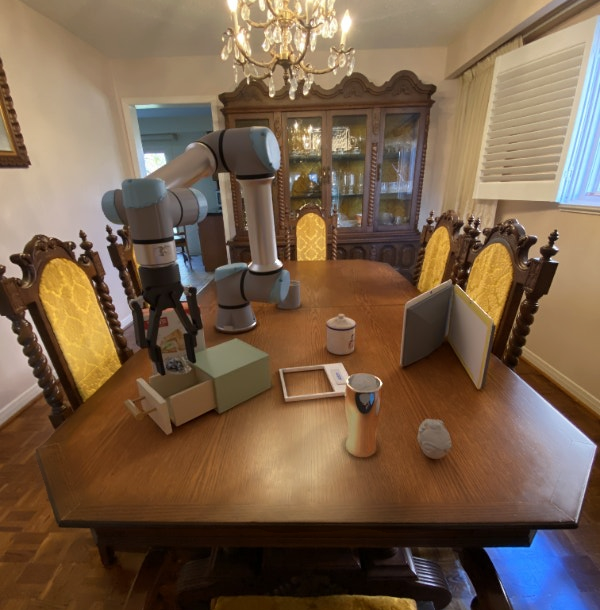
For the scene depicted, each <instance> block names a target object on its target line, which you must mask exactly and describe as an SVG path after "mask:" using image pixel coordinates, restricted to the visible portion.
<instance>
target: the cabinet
mask: <svg viewBox="0 0 600 610" xmlns="http://www.w3.org/2000/svg"><path fill="white" fill-rule="evenodd" d="M195 357H196V363H194V364H193V363H192V362H190V361H189V360H188V359H187V360H188V361H187V363H188V362H189V363H190V364H191V365H193V366H194V367H196V368H197V369H199V370H200V371H201V372H203V373H204V374H206V375H207V376H209V377H210V378H211V379H213V380H214V388H215V395H216V402H217V407H215V408H213V409H212V410H214V412H216V413H218V414H222V413H225V412H227V411H228V410H230V409H232V408H233V407H236V406H238V405H240V404H243V402H246V401H247V400H250V399H251V398H254V397H255V396H257V395H260V394H262V393H264V392H266V391H268V390H269V389H271V388H272V377H271V375H272V373H271V361H270V360H271V359H270V354H269V353H267V352H265V351H263V350H262V349H259V348H258V347H256V346H253V345H251V344H249V343H247V342H245V341H243V340H241V339H239V338H237V337H235V338H234V339H231V340H227V341H224V342H221V343H220V344H215V345H214V346H211V347H208V348H206V349H205V350H203V351H200V352H197V353H195ZM185 358H187V356H186V357H185Z"/></svg>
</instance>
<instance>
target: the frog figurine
mask: <svg viewBox="0 0 600 610" xmlns="http://www.w3.org/2000/svg"><path fill="white" fill-rule="evenodd" d="M416 439H417V441H418V442H417V443H418V445H419V446H420V449H421V451H422V452H423V454H424V455H425V456H426V457H428V458H430V459H433V460H439V459H442V458H444V457H445V456H447V454H449V453H450V449H452V441H451V435H450V433H449V431H448V429H447V427H446V425H445V423H444V421H442V420H441V419H435V418H434V419H433V418H431V419H430V418H426V419H424V420H423V421H422V422H421V423H420V425H419V427H418V434H417V436H416Z"/></svg>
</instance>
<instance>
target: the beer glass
mask: <svg viewBox="0 0 600 610" xmlns="http://www.w3.org/2000/svg"><path fill="white" fill-rule="evenodd" d="M382 408H383V381H382V380H381V378H380V377H378V376H376V375H374V374H371V373H366V372H360V373H357V372H356V373H354V374H351V375H349V377H348V378H347V380H346V389H345V395H344V413H345V418H346V425H347V435H346V439H345V449H346V451H347V452H348V453H349V454H351V455H352V456H354V457H357V458H369V457H371V456H373V455H374V454H375V453H376V451H377V441H376V431H377V427H378V425H379V421H380V418H381V413H382Z"/></svg>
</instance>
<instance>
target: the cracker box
mask: <svg viewBox="0 0 600 610" xmlns="http://www.w3.org/2000/svg"><path fill="white" fill-rule="evenodd" d="M181 303H182V305H183V307H184V310H185V312H186V314H187V316H188V317H189V319H190V321H191V323H192V320H191V316H190V312H189V308H188V304H187V301H185V302H181ZM198 307H199V311H200V316H201V320H202V321H203V318H202V310H201V306H200V304H198ZM142 312H143V317H144V326H145V335H147V328H148V321H149V307H147V308H142ZM192 325H193V324H192ZM197 332H198V334H197V336H196V341H197V347H195V348H194V351H195V353H197V352H200V351H203V350H205V349H207V348H206V342H205V333H204V328H203V329H202V330H198V331H197ZM184 333H187V331H186V330H185V328H184V326H183V325H182V323H181V321H180V319H179V318H178V316H177V314H176V312H175V311H174V309H173V308H168V309H166V310H164V311H162V316H161V317H160V323H159V330H158V337H157V343H156V344H157V345H158V346H160V348H161V353H162V358H163V362H164V361H166V360H167V359H170V358H171V357H175V358H176V357H177V358H179V357H186V356H187V353H186V348H185V342H184V336H183V334H184ZM150 365H151V369H152V376H154V375H156V374H159V373H158V372H157V369H156V364H155V362H152V361H151V360H150Z"/></svg>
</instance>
